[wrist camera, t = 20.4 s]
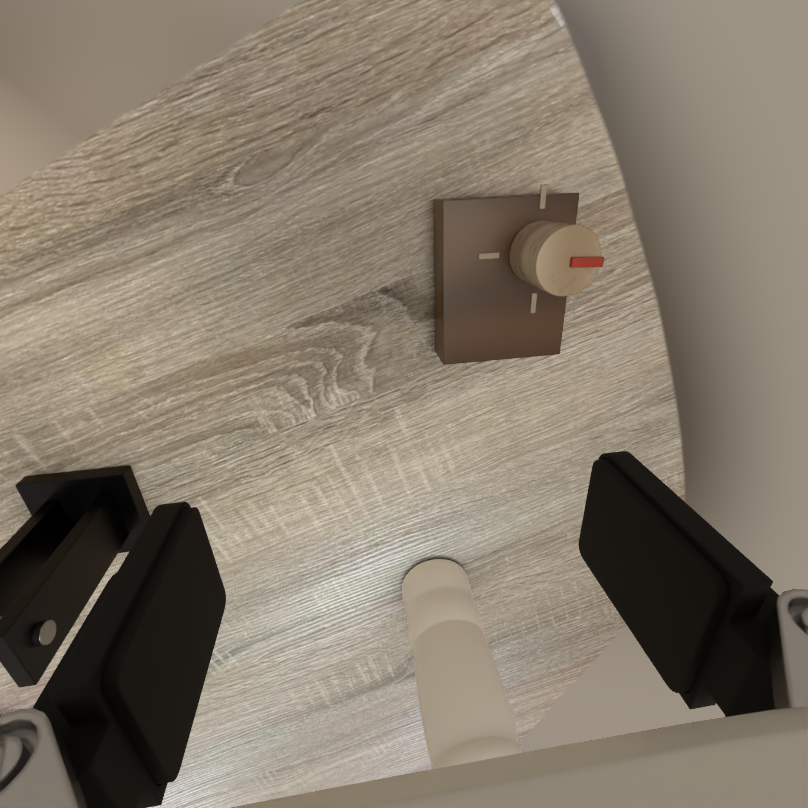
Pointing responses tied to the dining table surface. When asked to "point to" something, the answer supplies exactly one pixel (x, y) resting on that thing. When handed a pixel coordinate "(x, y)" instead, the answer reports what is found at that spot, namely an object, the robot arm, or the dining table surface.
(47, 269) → the dining table surface
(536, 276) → the tap knob
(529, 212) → the tap panel
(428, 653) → the water bottle
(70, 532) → the black lever stand
